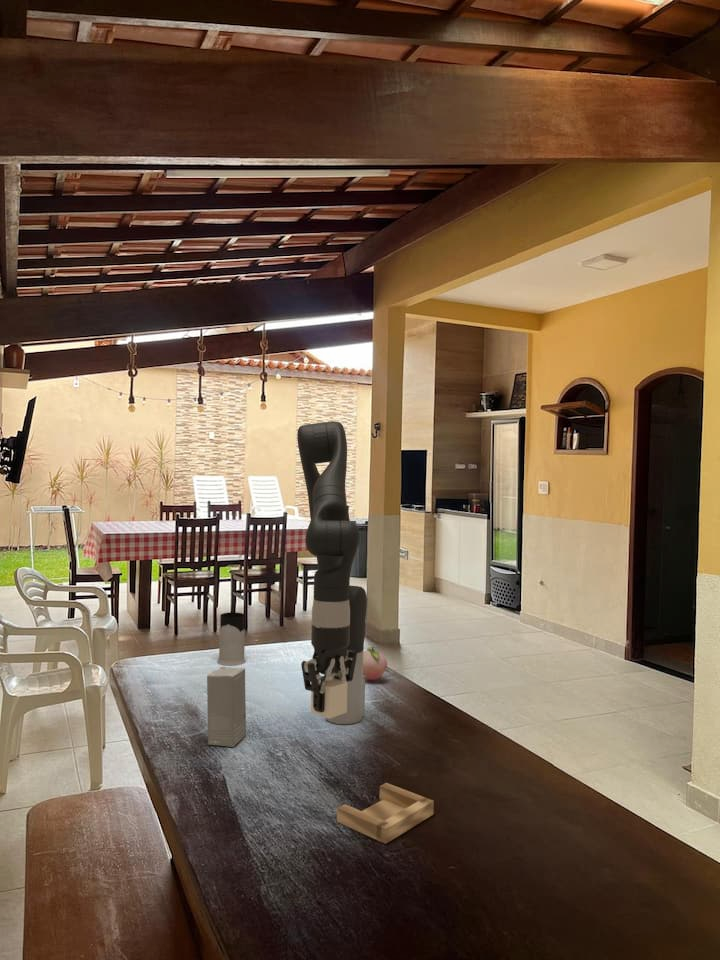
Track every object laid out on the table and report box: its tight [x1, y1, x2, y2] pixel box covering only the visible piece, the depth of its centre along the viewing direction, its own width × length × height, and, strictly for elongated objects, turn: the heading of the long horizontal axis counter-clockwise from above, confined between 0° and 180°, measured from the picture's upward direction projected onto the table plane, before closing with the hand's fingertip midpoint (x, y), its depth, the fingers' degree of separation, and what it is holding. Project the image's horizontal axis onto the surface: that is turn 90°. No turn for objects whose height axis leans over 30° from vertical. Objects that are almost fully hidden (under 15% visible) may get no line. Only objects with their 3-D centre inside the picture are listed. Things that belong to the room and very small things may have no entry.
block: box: [310, 677, 348, 719], centre depth 143 cm, size 5×5×6 cm
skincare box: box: [206, 666, 247, 748], centre depth 165 cm, size 8×7×16 cm
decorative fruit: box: [363, 646, 388, 682], centre depth 213 cm, size 9×8×10 cm
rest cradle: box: [336, 782, 435, 845], centre depth 130 cm, size 14×11×2 cm
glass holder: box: [217, 612, 246, 667], centre depth 232 cm, size 9×14×15 cm, turn 170°
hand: (328, 707), depth 143 cm, fingers closed on block, 5 cm apart
